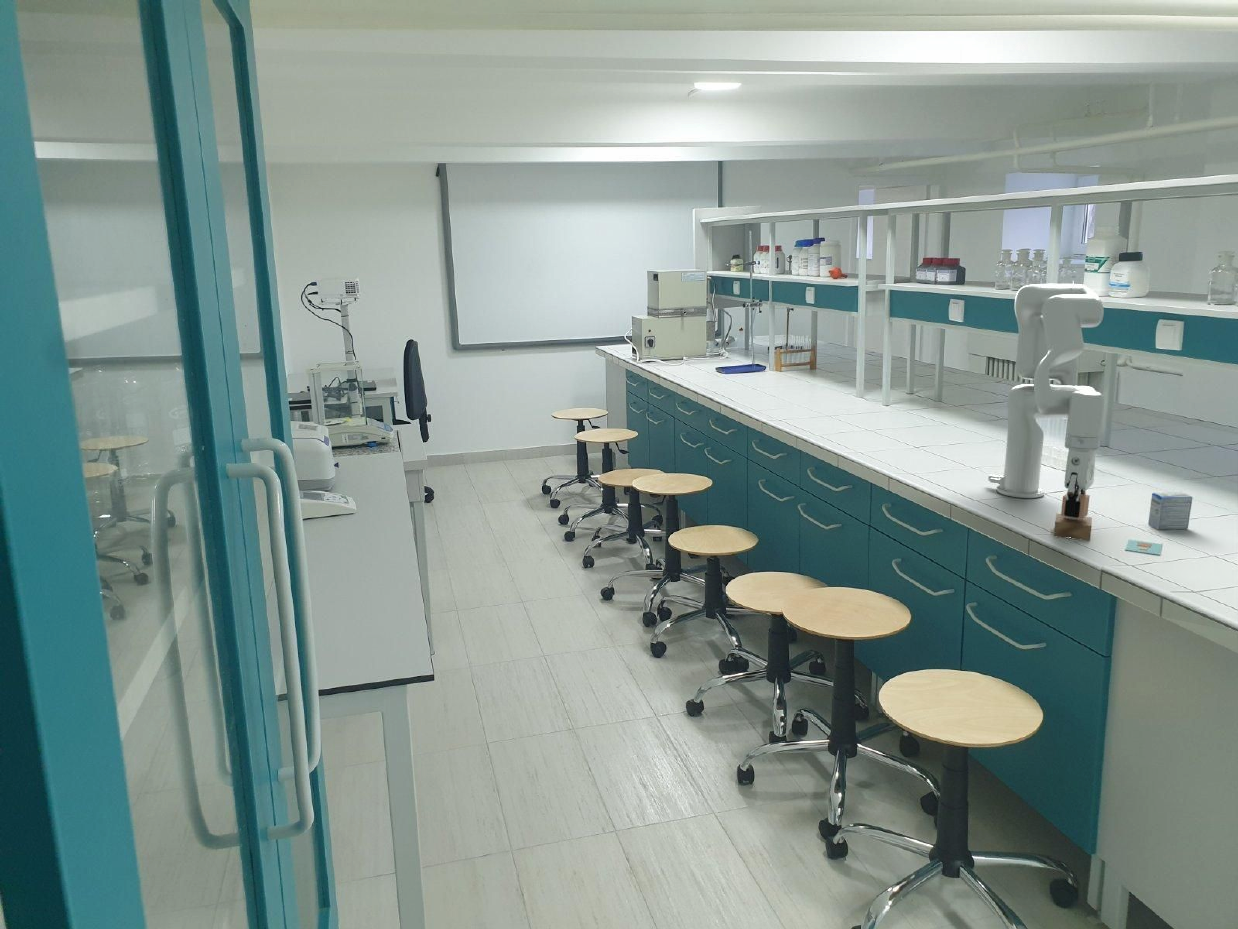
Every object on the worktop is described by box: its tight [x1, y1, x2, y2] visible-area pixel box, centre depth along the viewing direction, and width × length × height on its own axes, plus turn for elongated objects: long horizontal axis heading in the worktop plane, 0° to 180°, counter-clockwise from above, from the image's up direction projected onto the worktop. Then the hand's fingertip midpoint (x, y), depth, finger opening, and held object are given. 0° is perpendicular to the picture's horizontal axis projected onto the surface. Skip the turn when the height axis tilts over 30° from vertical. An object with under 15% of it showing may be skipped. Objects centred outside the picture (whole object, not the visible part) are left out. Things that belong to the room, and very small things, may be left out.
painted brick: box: [1060, 492, 1091, 519], centre depth 226 cm, size 5×5×6 cm
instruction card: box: [1124, 539, 1163, 556], centre depth 217 cm, size 7×9×1 cm
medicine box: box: [1147, 491, 1193, 530], centre depth 231 cm, size 8×4×9 cm, turn 92°
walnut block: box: [1053, 513, 1093, 542], centre depth 227 cm, size 8×8×4 cm
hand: (1074, 513), depth 226 cm, fingers closed on painted brick, 4 cm apart
